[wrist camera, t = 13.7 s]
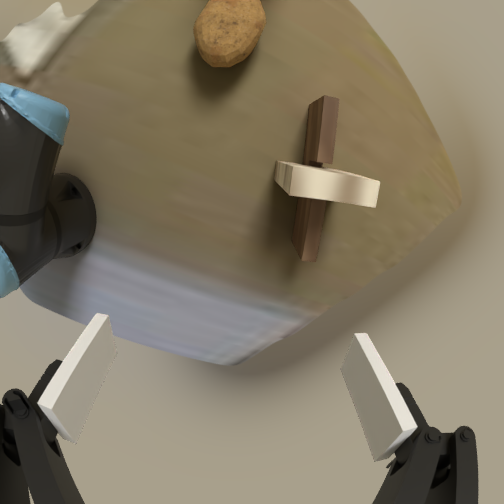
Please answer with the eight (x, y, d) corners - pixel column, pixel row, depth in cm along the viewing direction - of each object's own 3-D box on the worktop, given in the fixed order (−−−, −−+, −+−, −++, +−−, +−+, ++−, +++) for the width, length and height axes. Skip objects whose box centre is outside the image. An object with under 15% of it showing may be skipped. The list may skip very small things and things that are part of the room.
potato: (188, 72, 34) (176, 57, 26) (210, 2, 29) (204, -22, 21) (251, 81, 35) (254, 66, 27) (270, 10, 30) (275, -13, 22)
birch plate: (274, 179, 40) (289, 195, 27) (276, 160, 39) (293, 166, 26) (336, 188, 41) (375, 207, 28) (338, 169, 40) (380, 181, 27)
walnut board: (291, 241, 44) (301, 260, 37) (309, 104, 36) (324, 95, 29) (303, 242, 44) (315, 261, 37) (321, 106, 36) (339, 98, 29)
